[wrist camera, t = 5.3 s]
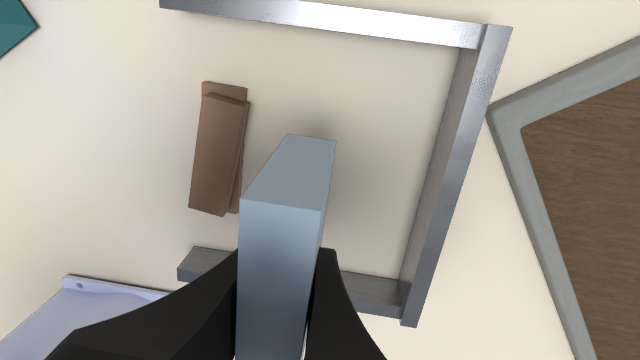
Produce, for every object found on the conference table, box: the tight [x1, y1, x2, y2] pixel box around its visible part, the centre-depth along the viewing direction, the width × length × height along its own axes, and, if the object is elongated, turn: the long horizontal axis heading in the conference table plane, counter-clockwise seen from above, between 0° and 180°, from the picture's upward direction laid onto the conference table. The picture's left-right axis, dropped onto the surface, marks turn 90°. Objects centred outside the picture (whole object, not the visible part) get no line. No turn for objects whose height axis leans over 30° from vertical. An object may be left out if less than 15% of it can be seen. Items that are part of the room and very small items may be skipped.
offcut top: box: [188, 92, 249, 217], centre depth 19 cm, size 2×7×1 cm, turn 164°
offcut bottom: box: [202, 81, 247, 214], centre depth 21 cm, size 2×8×1 cm, turn 171°
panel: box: [235, 134, 336, 360], centre depth 13 cm, size 2×9×6 cm, turn 173°
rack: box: [159, 0, 513, 328], centre depth 19 cm, size 16×17×3 cm
